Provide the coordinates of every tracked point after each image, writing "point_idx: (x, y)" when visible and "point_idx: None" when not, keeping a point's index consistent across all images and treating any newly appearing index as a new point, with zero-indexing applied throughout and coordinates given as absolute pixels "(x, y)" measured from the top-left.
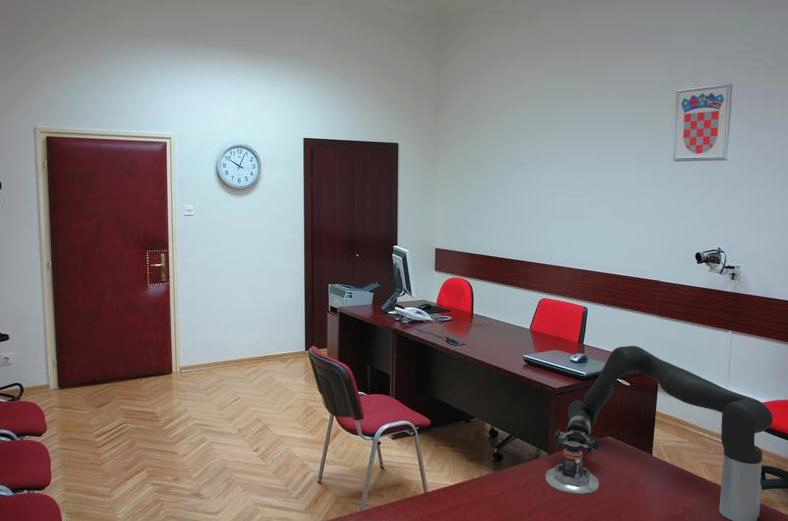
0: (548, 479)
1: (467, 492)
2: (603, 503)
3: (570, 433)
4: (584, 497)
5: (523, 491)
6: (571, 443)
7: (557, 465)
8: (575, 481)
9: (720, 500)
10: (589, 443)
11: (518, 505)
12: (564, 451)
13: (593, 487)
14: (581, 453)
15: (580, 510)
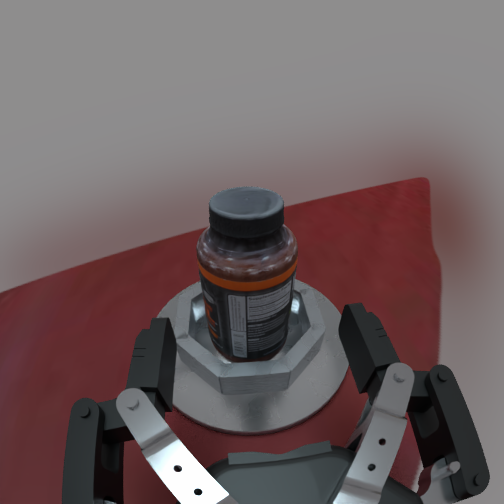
0: (319, 295)
1: (413, 217)
2: (151, 271)
3: (358, 465)
4: (198, 277)
5: (346, 247)
6: (257, 197)
7: (318, 326)
8: None
9: None
10: (146, 371)
11: (324, 214)
12: (285, 226)
13: (169, 308)
14: (203, 232)
15: None
